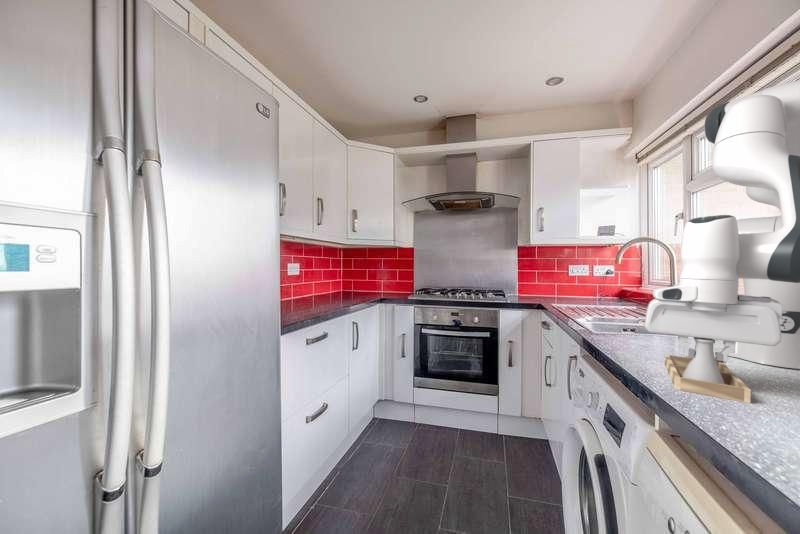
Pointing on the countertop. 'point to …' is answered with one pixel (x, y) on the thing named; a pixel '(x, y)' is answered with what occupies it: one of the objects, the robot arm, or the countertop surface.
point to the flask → (703, 363)
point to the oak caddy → (729, 390)
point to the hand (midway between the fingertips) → (704, 359)
